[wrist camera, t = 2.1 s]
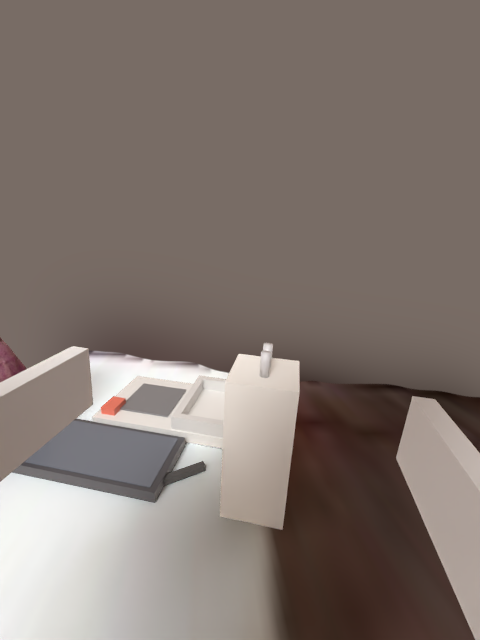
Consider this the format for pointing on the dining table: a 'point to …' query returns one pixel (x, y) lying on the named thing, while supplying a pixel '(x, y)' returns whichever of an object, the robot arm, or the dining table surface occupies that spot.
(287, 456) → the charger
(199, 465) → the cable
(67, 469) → the phone
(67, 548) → the dining table surface
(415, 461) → the robot arm
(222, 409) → the white base tray
